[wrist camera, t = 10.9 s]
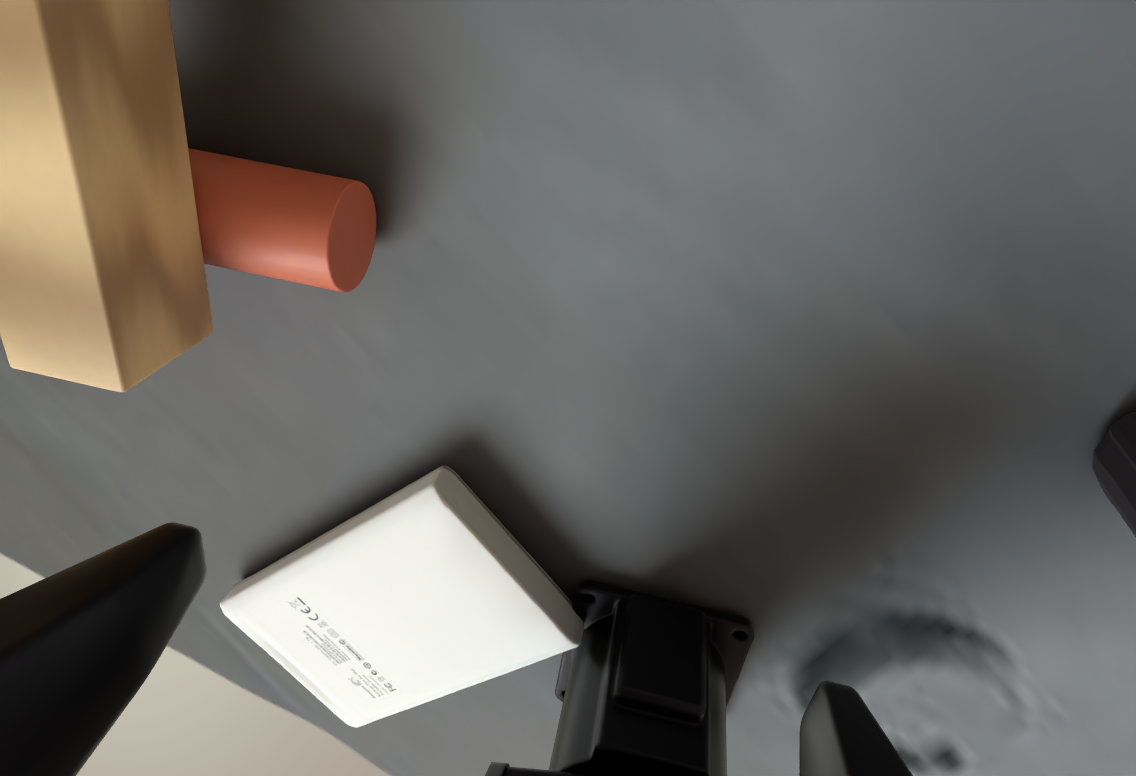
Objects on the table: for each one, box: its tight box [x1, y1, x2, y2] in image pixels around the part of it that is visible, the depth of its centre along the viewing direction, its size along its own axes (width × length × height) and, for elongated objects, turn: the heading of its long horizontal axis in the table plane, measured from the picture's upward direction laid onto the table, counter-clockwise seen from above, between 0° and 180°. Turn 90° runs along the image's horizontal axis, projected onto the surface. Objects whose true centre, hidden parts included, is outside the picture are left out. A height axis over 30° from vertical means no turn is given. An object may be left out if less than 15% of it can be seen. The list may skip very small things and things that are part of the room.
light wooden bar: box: [0, 0, 213, 392], centre depth 14 cm, size 15×3×4 cm, turn 172°
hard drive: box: [220, 466, 584, 728], centre depth 27 cm, size 2×8×12 cm
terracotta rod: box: [188, 148, 376, 292], centre depth 19 cm, size 3×10×3 cm, turn 83°
